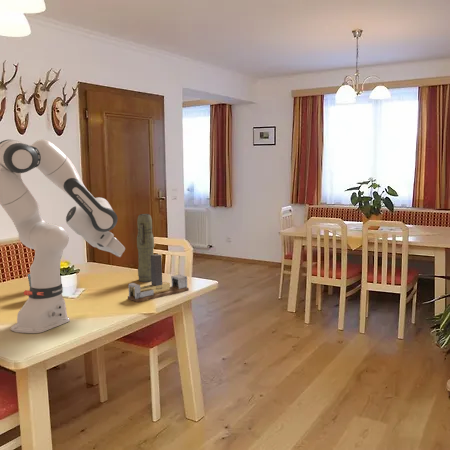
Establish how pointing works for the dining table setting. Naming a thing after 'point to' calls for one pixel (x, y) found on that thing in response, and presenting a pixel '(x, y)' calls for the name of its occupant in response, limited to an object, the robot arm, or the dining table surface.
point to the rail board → (160, 294)
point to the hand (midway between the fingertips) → (119, 255)
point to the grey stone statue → (145, 246)
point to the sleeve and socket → (176, 281)
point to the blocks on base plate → (156, 277)
